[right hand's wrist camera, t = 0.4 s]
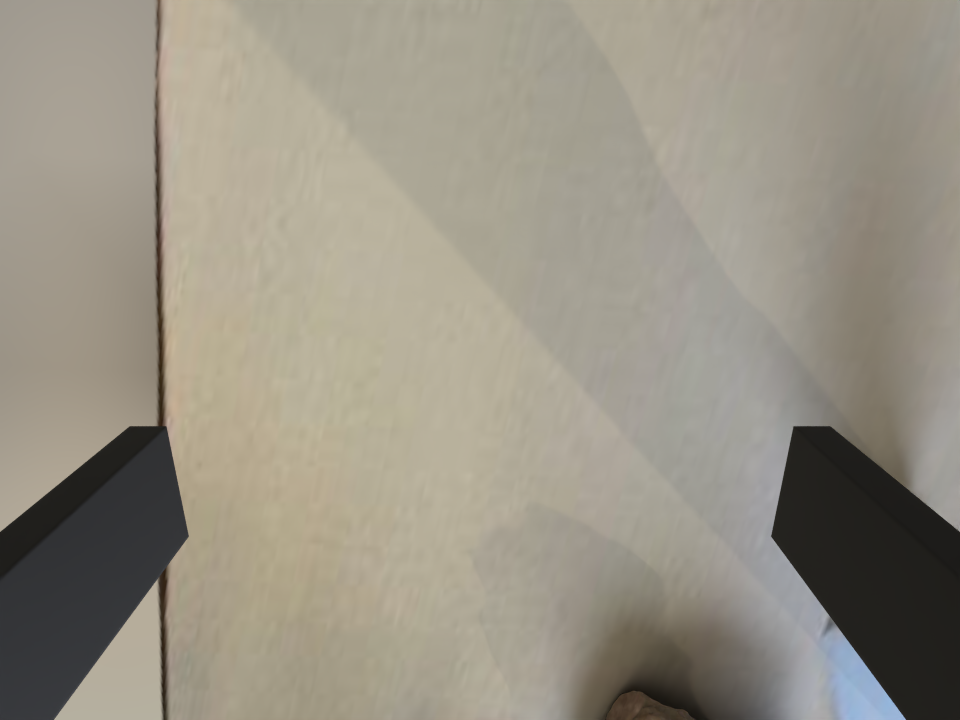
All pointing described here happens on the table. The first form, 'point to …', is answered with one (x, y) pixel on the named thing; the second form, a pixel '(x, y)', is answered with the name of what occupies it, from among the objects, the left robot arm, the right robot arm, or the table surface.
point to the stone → (643, 709)
